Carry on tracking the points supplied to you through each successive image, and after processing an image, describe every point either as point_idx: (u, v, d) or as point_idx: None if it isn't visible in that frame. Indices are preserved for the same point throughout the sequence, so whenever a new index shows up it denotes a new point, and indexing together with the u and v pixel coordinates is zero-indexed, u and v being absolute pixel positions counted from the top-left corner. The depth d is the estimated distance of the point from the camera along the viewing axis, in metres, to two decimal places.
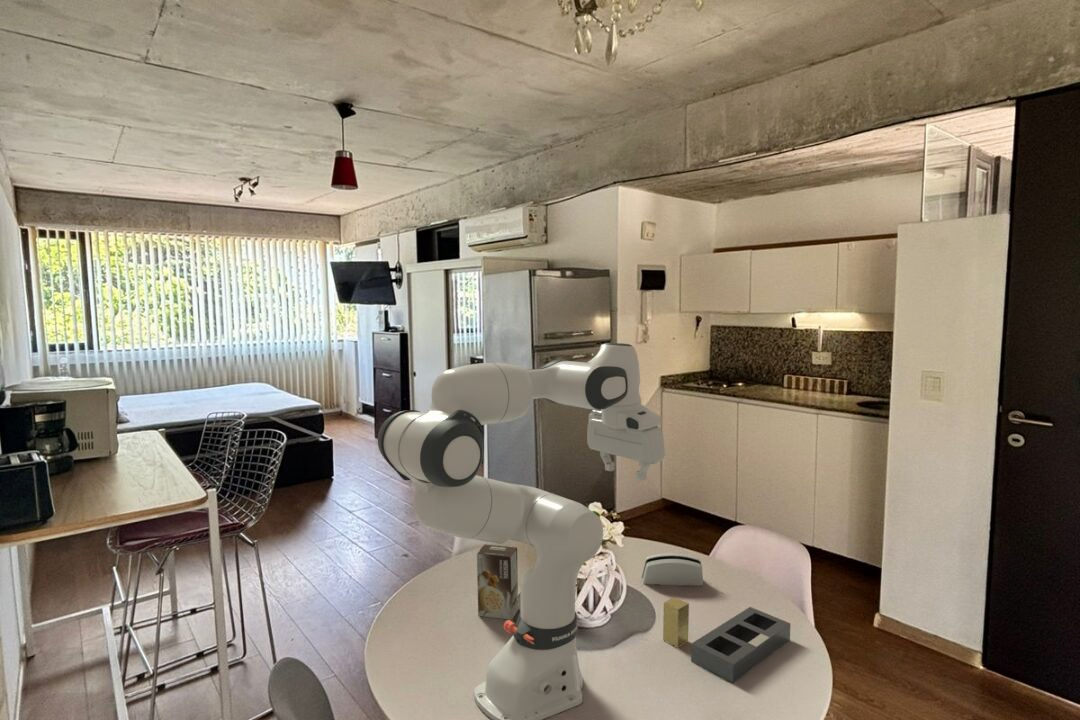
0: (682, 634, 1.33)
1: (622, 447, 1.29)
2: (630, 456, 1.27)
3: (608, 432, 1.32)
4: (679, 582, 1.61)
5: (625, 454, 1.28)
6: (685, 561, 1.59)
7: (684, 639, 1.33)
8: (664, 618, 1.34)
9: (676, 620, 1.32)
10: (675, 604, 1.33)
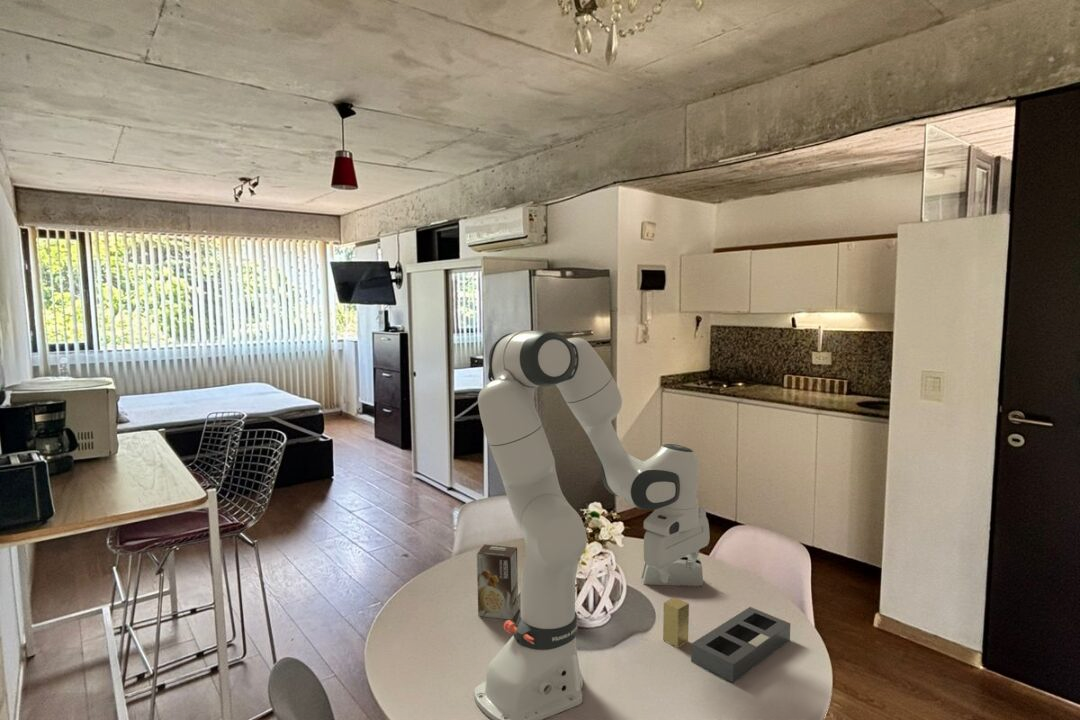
0: (683, 634, 1.33)
1: None
2: None
3: None
4: (679, 582, 1.61)
5: None
6: (685, 561, 1.59)
7: (684, 639, 1.33)
8: (664, 618, 1.34)
9: (676, 620, 1.32)
10: (675, 604, 1.33)
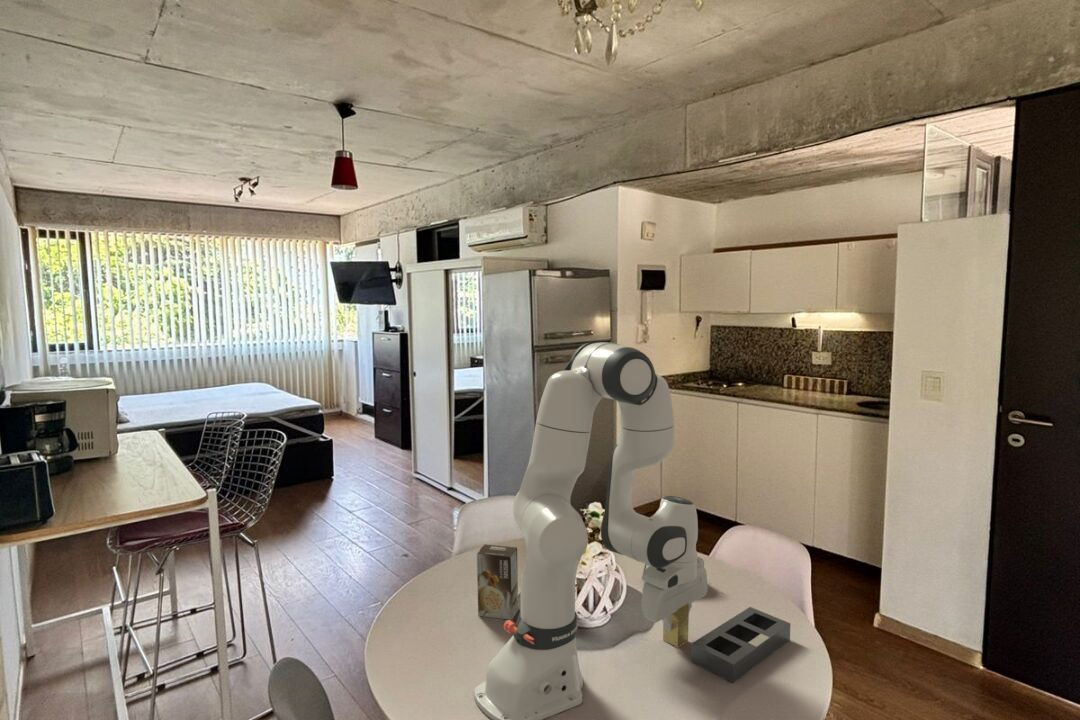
0: (682, 634, 1.33)
1: None
2: None
3: None
4: None
5: None
6: None
7: (684, 639, 1.33)
8: None
9: (676, 620, 1.32)
10: None
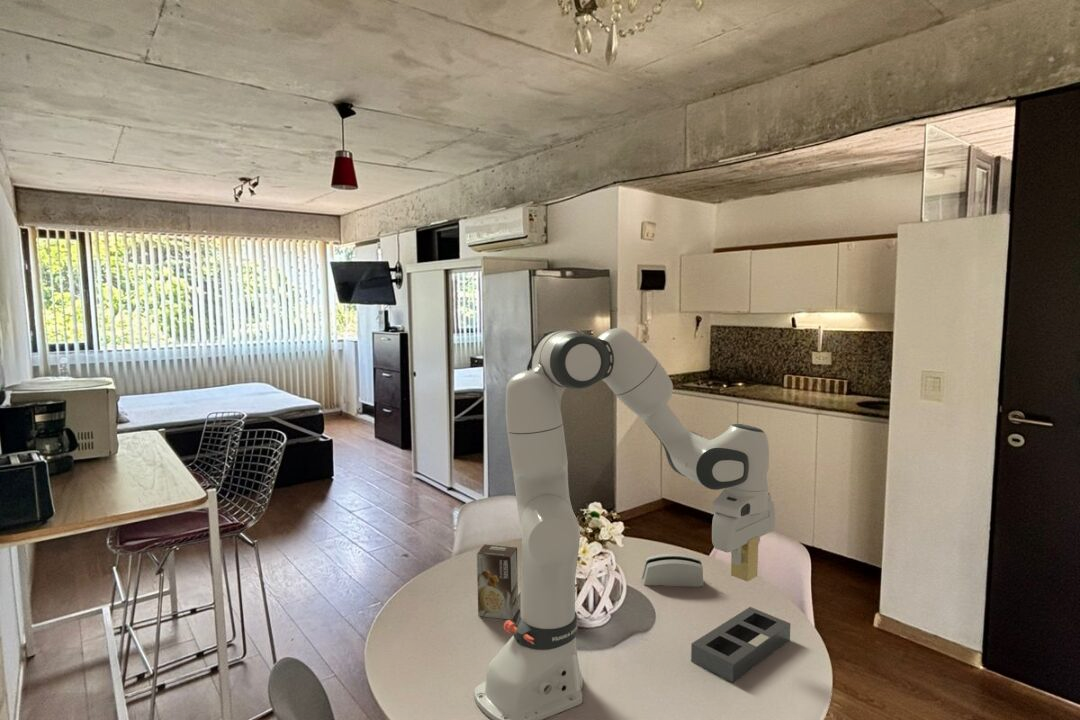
0: (752, 568, 1.28)
1: None
2: None
3: None
4: (679, 582, 1.61)
5: None
6: (686, 562, 1.59)
7: (754, 573, 1.28)
8: None
9: (746, 553, 1.26)
10: None
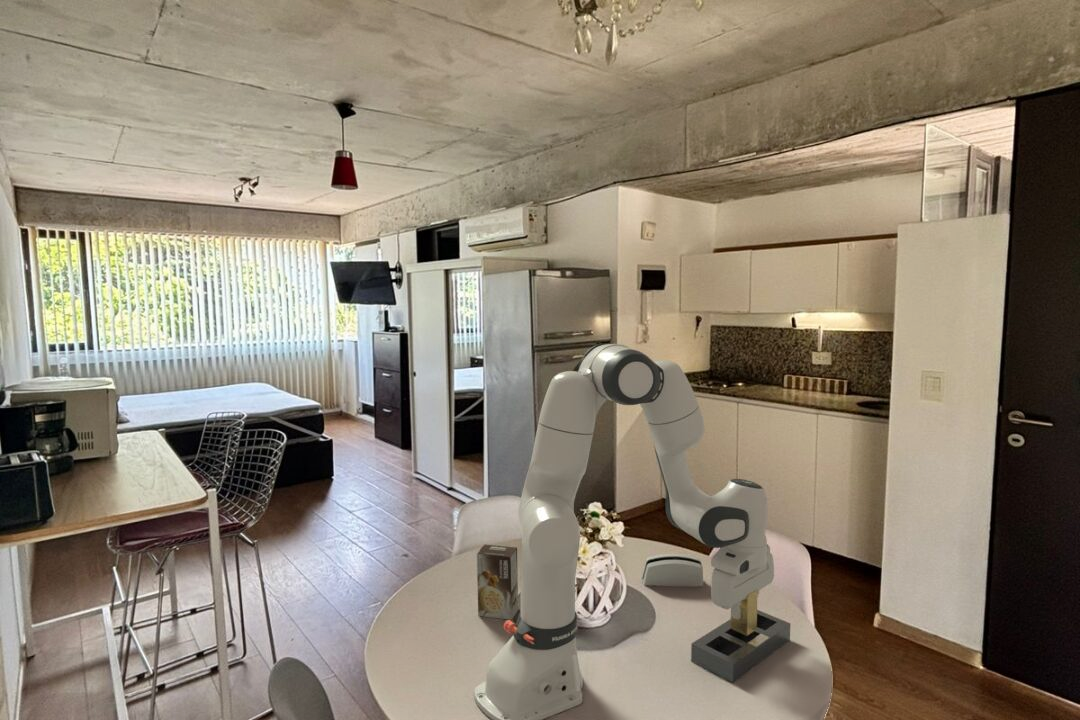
0: (752, 622, 1.28)
1: None
2: None
3: None
4: (679, 582, 1.61)
5: None
6: (686, 562, 1.59)
7: (753, 627, 1.29)
8: None
9: (745, 607, 1.27)
10: None
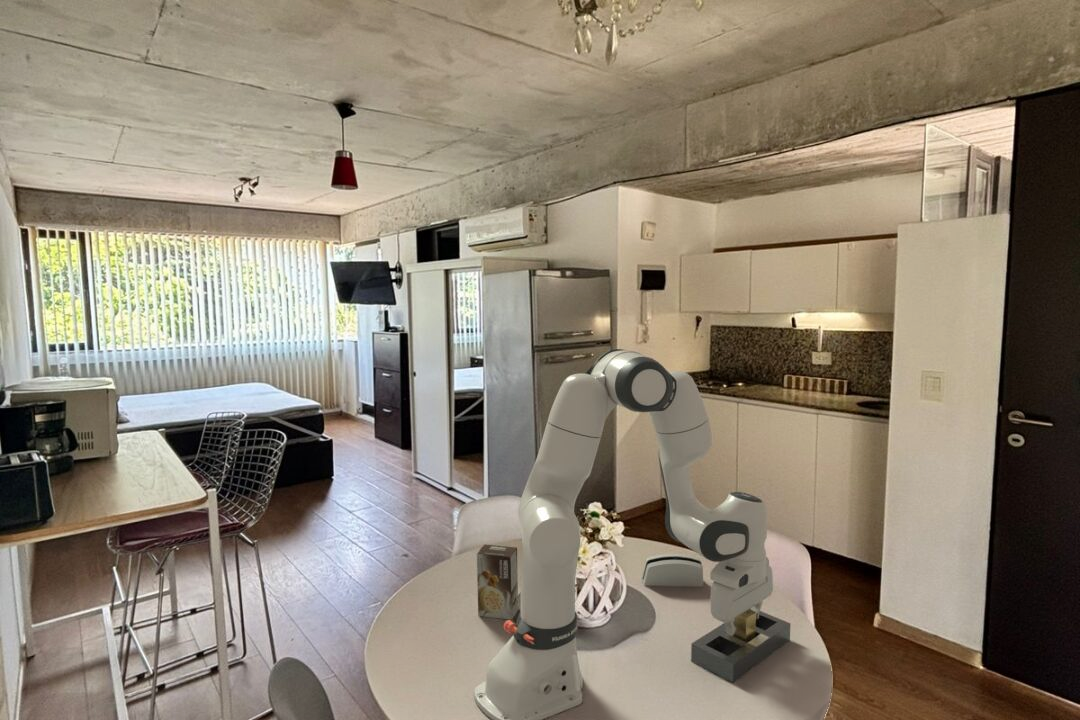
0: None
1: None
2: None
3: None
4: (679, 582, 1.61)
5: None
6: (686, 562, 1.59)
7: None
8: None
9: (744, 630, 1.28)
10: (742, 613, 1.29)
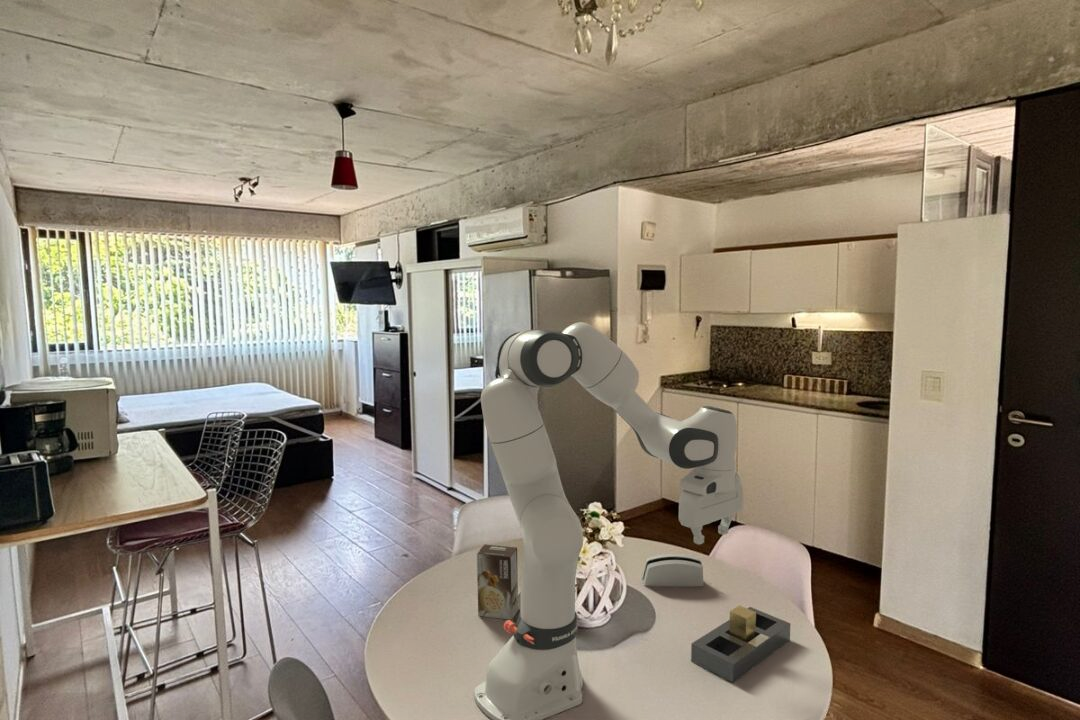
0: None
1: None
2: None
3: None
4: (679, 583, 1.61)
5: None
6: (686, 562, 1.58)
7: None
8: (730, 627, 1.30)
9: (744, 630, 1.28)
10: (742, 613, 1.29)
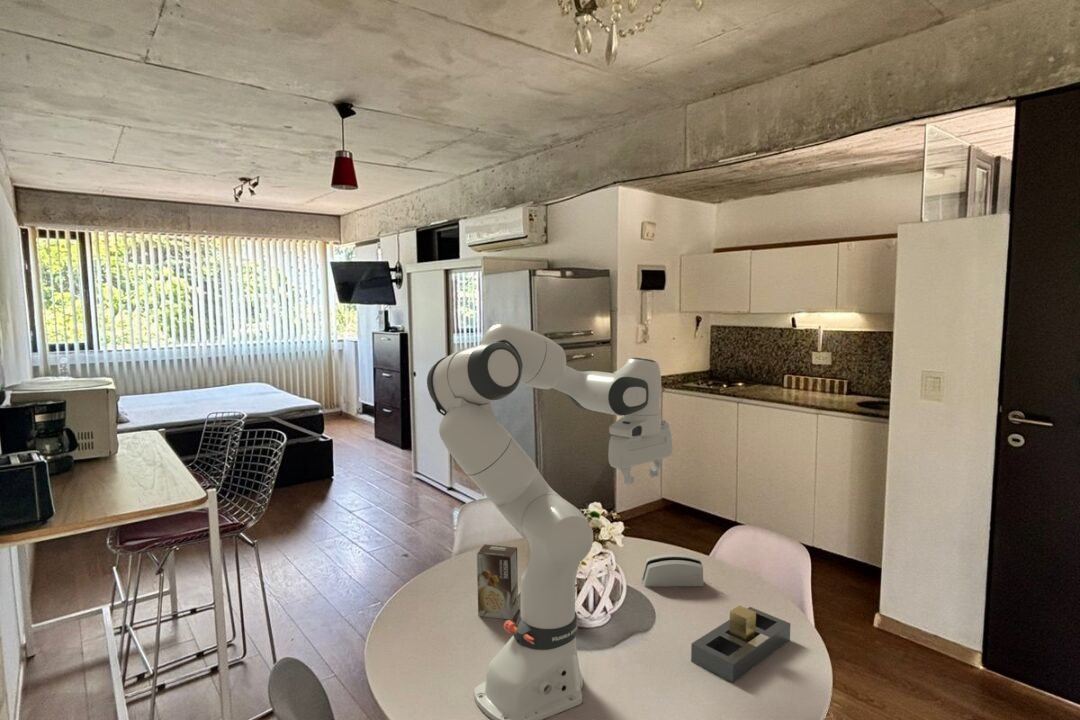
0: None
1: None
2: None
3: None
4: (680, 583, 1.61)
5: None
6: (686, 562, 1.58)
7: None
8: (730, 627, 1.30)
9: (744, 630, 1.28)
10: (742, 613, 1.29)
